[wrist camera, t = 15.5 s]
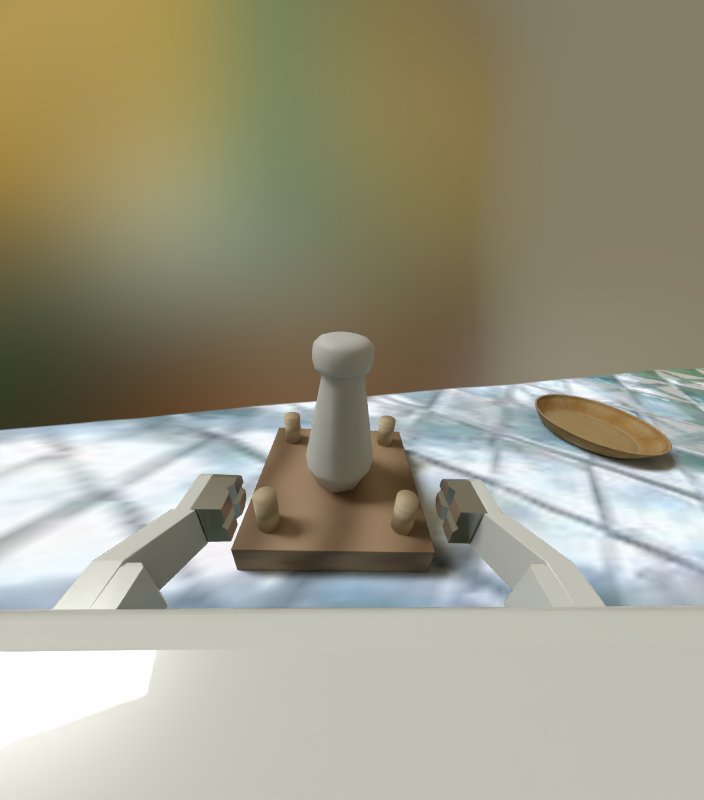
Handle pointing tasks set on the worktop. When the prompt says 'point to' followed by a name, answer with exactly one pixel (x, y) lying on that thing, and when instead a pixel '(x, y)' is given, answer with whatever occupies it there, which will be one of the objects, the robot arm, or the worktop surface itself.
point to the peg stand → (334, 512)
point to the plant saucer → (600, 427)
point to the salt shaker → (341, 412)
